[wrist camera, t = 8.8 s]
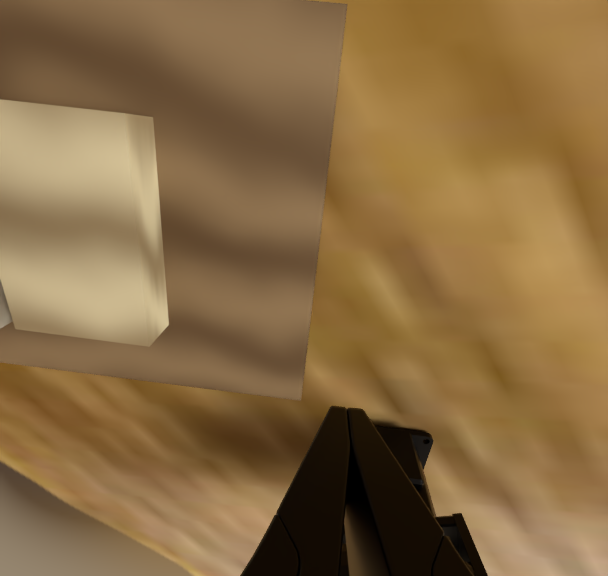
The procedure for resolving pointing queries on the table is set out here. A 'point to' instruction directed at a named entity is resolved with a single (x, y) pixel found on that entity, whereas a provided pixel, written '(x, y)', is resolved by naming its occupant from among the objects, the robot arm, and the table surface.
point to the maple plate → (81, 223)
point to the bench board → (200, 171)
